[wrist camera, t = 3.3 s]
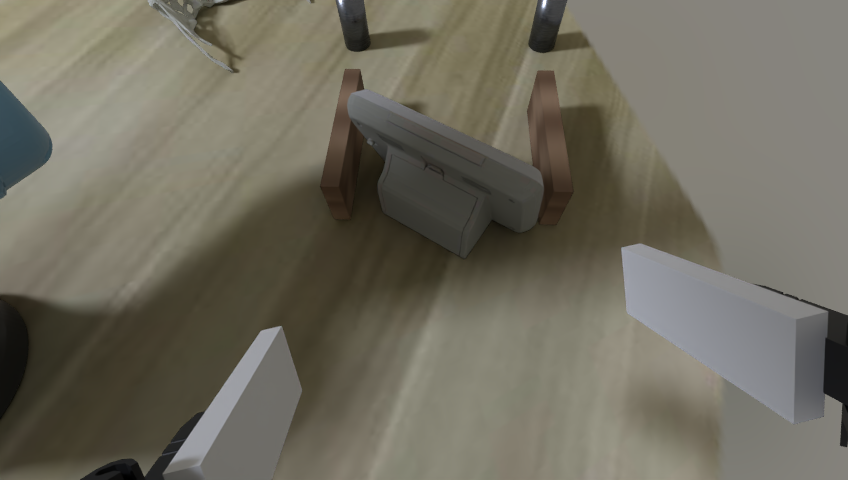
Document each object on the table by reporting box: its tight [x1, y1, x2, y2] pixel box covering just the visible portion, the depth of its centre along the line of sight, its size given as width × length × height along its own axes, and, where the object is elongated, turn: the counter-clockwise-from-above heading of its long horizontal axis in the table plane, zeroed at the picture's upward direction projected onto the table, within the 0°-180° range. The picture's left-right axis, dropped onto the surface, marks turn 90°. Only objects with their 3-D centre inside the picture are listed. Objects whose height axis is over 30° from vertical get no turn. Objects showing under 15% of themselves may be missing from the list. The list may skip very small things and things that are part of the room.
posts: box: [336, 0, 567, 52], centre depth 45 cm, size 3×25×6 cm, turn 87°
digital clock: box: [347, 89, 544, 259], centre depth 32 cm, size 16×9×11 cm, turn 45°
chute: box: [320, 69, 573, 225], centre depth 37 cm, size 14×20×5 cm
